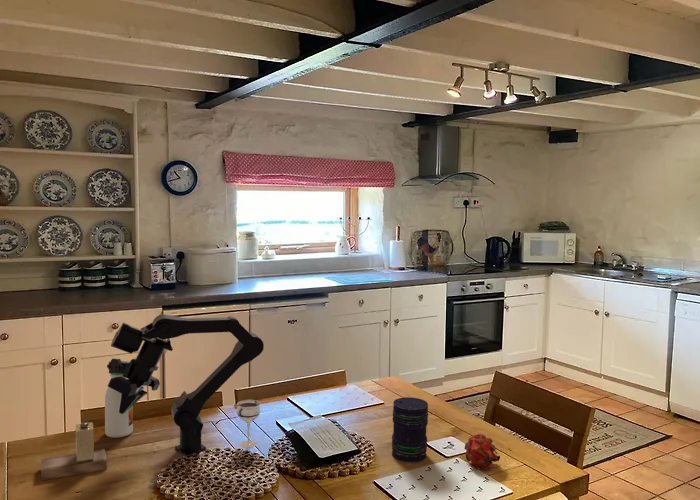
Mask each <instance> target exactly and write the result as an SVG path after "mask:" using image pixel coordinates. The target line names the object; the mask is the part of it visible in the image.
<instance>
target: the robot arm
mask: <svg viewBox="0 0 700 500" xmlns="http://www.w3.org/2000/svg"><path fill="white" fill-rule="evenodd" d="M210 333H211V334H213V333H216V334H217V333H231V334H232V336H233V337H234V338H236V340H237V342H236V343H235V344H234V347H233V349H232V351H231V353H230V355H228V357H227V358H225V360H224V361H222V363H221V364H220V365H219V366H217V368H216V369H215V370H214V371H212V372H211V374H210V375H209V376H208V377H207V378H205V380H204V381H202V383H201V384H200V385H198V387H196V388H195V390H193V391H192V392H189V393H187V392H186V391H184V390H183V392H181V394H180V396H179V397H177V398H176V399H175V400H173V405H172V406H171V410H170V411H171V416H172V418H173V421H174V424H175V425H176V426H178V427H179V444H178V445H175V446H174V449H175V450H177V451H178V452H180V453H181V454H183V455H185V456H188V455H192V454H194V453H197V452H200V451H204V450H206V449H207V447H206V446H205V445H203V444H202V431H203V428H204V424H203V423H204V422H203V421H202V418H201V417H200V414H201V412H202V410H203V407H204V406H205V403H206V402H207V401H208V400H209V399H210V398H212V396H213V395H214V394H215V393H216V392H217V391H218V390H220V388H221V387H222V386H223V385H224V384H225V383H226V382H227V381H228V380H229V379H230V378H231V377H232V376H233V375H234V374H235V373H236V372H237V371H238V370H239V369H240V368H241V367H242V366H244V365H246V364H247V363H250V362H252V361H253V360H254V359H256V358H257V357H259V356H260V355H261V354H262V353H263V351H264V349H265V348H264V346H265V345H264V341H263V339H261V338H260V336H258V335H257V334H256V333H254V332H249V331H248V330H247V329H246V328H245V327H244V326H243V325H242V324H241V323H240V322H239V320H238V319H237V318H236V317H234V316H226V317H196V318H194V317H193V318H191V317H190V318H188V317H187V318H185V317H181V316H177V315H170V314H159V315H156V317H154V319H153V320H152V322H150V323H149V324H146V325H145V326H143V327H141V328H138V327H134V326H132V325H130V324H128V323H126V322H122V324H121V325H120V326H119V328H118V329H117V331H116V332H115V334H114V336H113V338H112V340H111V343H110V347H112V348H114V349H116V350H120V351H122V352H126V353H129V354H131V355H132V354H133V353H136V352H138V354H137V356H136V357H135V358H132V359H130V361H124V360H121V358H112V359H111V360H110V361H108V364H106V368H107V369H108V374H110V373H111V374H113V373H119V374H123V377H122V376H120V377H115V378H112V379H111V378H110V380H109V381H108V384H107V388H108V387H110V388H112V389H114V390H116V391H118V392H120V393H121V394H122V395H121V403H120V409H119V413H121V414H124V413H125V412H126V411H127V410H128V409H130V408H131V407H132V406H133V407H134V405H136V403H137V402H138V401H140V400H141V399H142V398H143V397H144V396H146V395H148V392H147V391H146V390H144V389H145V387H147V386H148V387H150V388H151V391H154V392H155V391H157V390H158V389H159V387H160V384H161V382H160V380H159V379H158V378H157V377H154V376H153V374H154V372H155V371H158V369H159V366H158V364H159V362H160V359H161V357H162V355H163V354H164V351H165V350H168V351H171V352H172V351H173V346H172V344H171V342H172V341H171V339H173V338H174V339H175V338H178V337H181V336H184V335H188V334H190V335H191V334H210ZM140 347H141V348H140ZM139 349H140V350H139ZM111 374H110V375H111ZM124 377H125V378H124ZM126 378H127V379H126Z"/></svg>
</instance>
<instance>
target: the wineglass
mask: <svg viewBox="0 0 700 500" xmlns="http://www.w3.org/2000/svg"><path fill="white" fill-rule="evenodd" d="M236 405H237V408H236V415H237V417H238V419H240V420H242V421H243V422H245V423H246V427H247V428H246V429H247V430H246V431H247V440H243V441H241V442H240V443H239V446H240V447H241V448H245V449H247V448H254V447H256V446H257V445H258V442H257V441H255V440H250V433H251V432H250V431H251V430H250V429H251V423H252V422H253V421H255V420H257V419H258V418H259V416H260V413H261V407H260V405H261V401H260V400H256V399H244V400H243V399H242V400H240V401H238V402H237V403H236Z"/></svg>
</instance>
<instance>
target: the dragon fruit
mask: <svg viewBox="0 0 700 500" xmlns="http://www.w3.org/2000/svg"><path fill="white" fill-rule="evenodd" d="M492 443H493V439H492V437H491V438H490V437H487V436H486V435H485V434H484V433H479V434H478V433H477V434H473V435H472V436H470V437H469V438H468V439H467V442H465V445H464V450H465V452H466V453H465V459H466V461H467V462H471V463H472V465H473V466H475V468H476V469H479V470H483V471H484V468H483V467H486V468H487V467H488V468H491V467H492V466H494V463H496V462H499V461H500V459H501V456H500V455H499V454H498V452H497V451H496V448H497V447H495V445H494V444H492ZM493 462H494V463H493Z"/></svg>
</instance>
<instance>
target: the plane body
mask: <svg viewBox="0 0 700 500" xmlns="http://www.w3.org/2000/svg"><path fill="white" fill-rule="evenodd" d="M107 463H108V460H107V454H106V449H104V448H103V449H97V450H94V459H92V460H86V461H79V462H77V458H76V453H73V454H72V453H71V454H66V455H60V456H54V457H46V458H42V459H41V464H40V466H41V467H40V481H45V480H51V479H57V478H64V477H68V476H69V477H70V476H75V475H80V474H86V473H91V472H92V473H93V472H98V471H104V470H108V469H107V468H108V465H107Z"/></svg>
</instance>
